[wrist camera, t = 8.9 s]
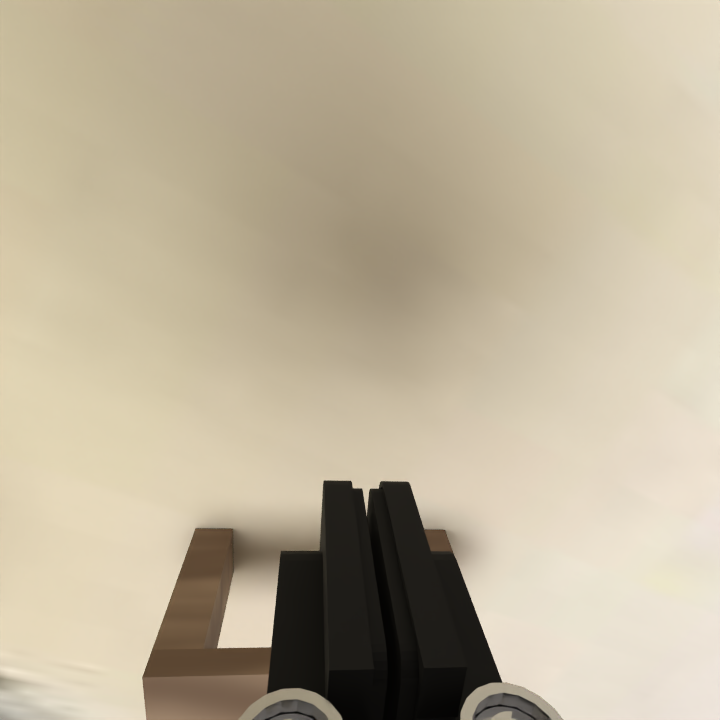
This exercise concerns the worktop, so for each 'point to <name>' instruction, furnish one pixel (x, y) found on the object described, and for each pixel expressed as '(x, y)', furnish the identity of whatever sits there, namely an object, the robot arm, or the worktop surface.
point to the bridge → (209, 640)
